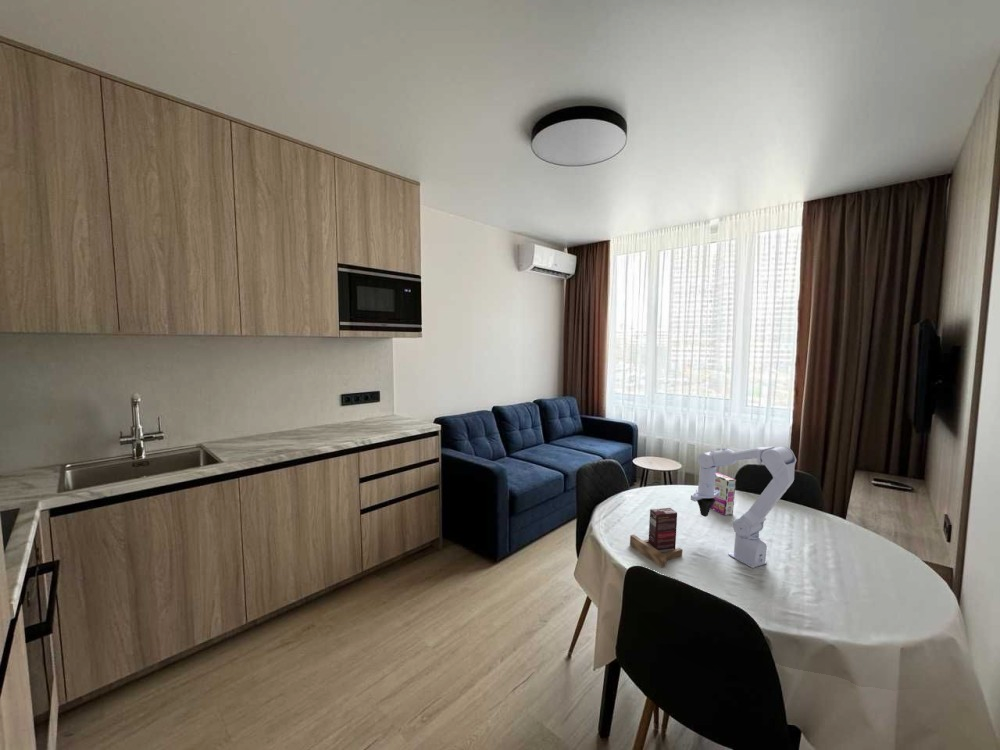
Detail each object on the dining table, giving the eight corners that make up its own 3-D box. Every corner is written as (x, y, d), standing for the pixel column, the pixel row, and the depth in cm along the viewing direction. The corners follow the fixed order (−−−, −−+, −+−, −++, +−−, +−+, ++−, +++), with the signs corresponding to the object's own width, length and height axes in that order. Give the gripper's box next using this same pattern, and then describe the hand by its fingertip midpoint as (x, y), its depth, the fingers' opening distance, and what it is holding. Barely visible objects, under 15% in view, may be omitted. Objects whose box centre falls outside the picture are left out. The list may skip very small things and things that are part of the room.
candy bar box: (733, 514, 185) (736, 479, 183) (724, 516, 183) (728, 480, 182) (714, 504, 196) (716, 471, 194) (705, 505, 194) (708, 472, 192)
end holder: (688, 559, 147) (689, 549, 147) (662, 567, 142) (662, 556, 141) (654, 538, 161) (655, 529, 161) (629, 545, 156) (630, 535, 156)
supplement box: (667, 547, 155) (670, 507, 154) (675, 554, 151) (678, 512, 149) (646, 549, 154) (649, 508, 152) (654, 556, 149) (657, 514, 147)
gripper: (710, 476, 167) (707, 508, 169) (685, 481, 161) (682, 514, 162) (726, 482, 161) (723, 515, 162) (700, 487, 155) (698, 522, 156)
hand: (704, 515), depth 162 cm, fingers closed
